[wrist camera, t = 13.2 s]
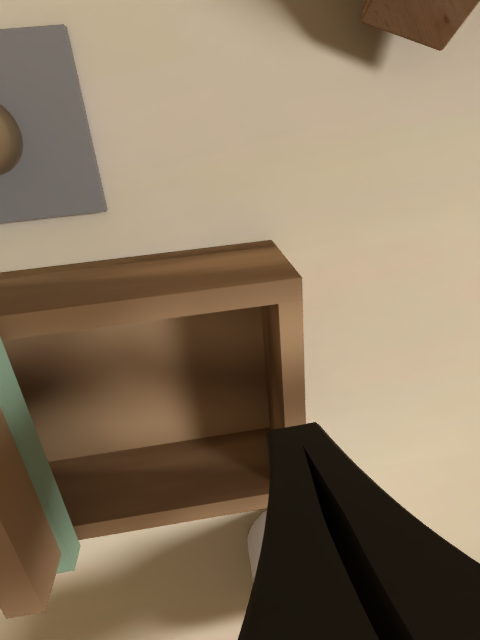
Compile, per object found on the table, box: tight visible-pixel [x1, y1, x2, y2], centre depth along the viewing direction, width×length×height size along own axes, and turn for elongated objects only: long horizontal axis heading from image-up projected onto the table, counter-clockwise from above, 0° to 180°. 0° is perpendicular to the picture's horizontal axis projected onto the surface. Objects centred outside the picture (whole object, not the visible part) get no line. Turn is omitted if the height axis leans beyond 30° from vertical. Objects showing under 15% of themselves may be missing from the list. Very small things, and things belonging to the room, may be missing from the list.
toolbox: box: [0, 240, 306, 540], centre depth 17 cm, size 10×22×5 cm, turn 95°
